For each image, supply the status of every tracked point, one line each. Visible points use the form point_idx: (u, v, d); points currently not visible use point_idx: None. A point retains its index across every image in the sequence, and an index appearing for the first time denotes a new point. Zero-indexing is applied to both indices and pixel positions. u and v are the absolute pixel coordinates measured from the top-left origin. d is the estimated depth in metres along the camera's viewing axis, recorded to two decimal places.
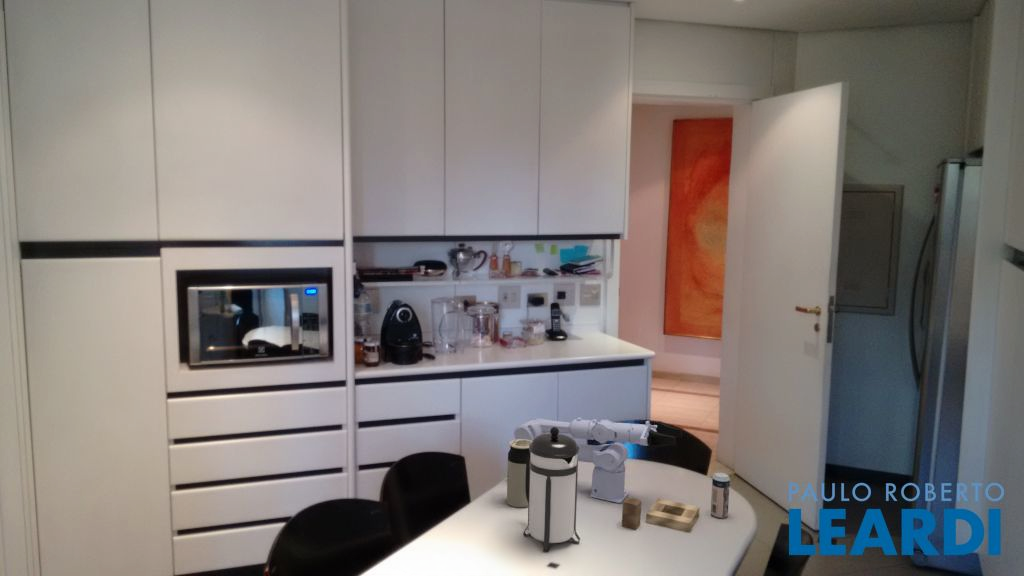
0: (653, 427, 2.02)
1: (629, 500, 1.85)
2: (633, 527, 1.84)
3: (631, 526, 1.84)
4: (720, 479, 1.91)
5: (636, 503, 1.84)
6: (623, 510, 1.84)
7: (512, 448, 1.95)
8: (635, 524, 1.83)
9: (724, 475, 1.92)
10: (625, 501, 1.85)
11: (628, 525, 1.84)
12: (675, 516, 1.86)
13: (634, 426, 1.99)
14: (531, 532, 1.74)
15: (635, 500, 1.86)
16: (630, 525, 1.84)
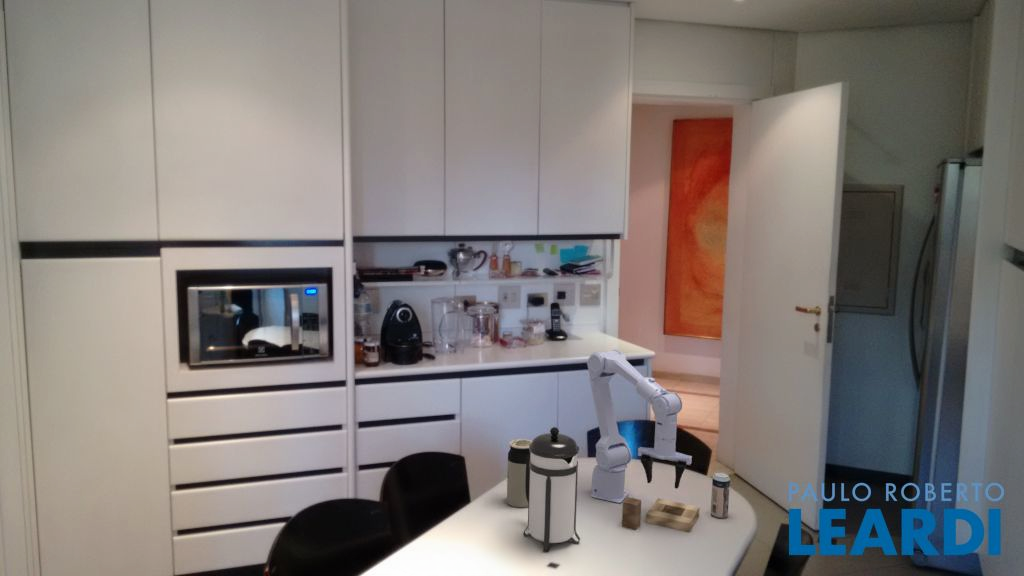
0: None
1: (629, 500, 1.85)
2: (633, 527, 1.84)
3: (631, 526, 1.84)
4: (720, 479, 1.91)
5: (636, 503, 1.84)
6: (623, 510, 1.84)
7: (512, 448, 1.95)
8: (635, 524, 1.83)
9: (724, 475, 1.92)
10: (625, 501, 1.85)
11: (628, 525, 1.84)
12: (675, 516, 1.86)
13: (657, 442, 1.86)
14: (531, 532, 1.74)
15: (635, 500, 1.86)
16: (630, 525, 1.84)
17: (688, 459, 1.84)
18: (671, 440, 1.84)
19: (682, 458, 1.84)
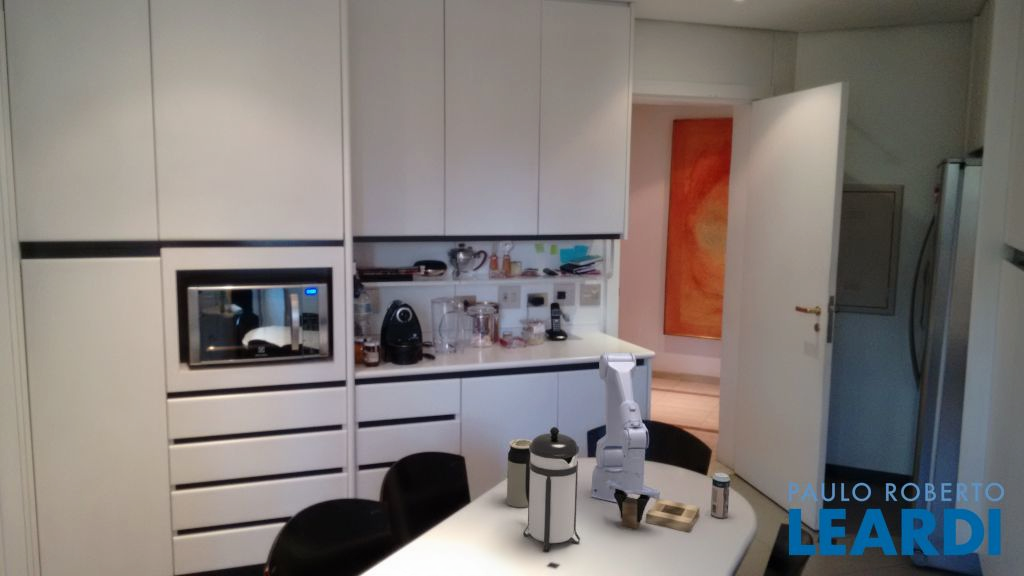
0: None
1: (629, 500, 1.85)
2: (633, 527, 1.84)
3: (631, 526, 1.84)
4: (720, 479, 1.91)
5: (636, 503, 1.84)
6: (623, 510, 1.84)
7: (512, 448, 1.95)
8: (635, 524, 1.83)
9: (724, 475, 1.92)
10: (625, 501, 1.85)
11: (628, 525, 1.84)
12: (675, 516, 1.86)
13: (625, 476, 1.83)
14: (531, 532, 1.74)
15: (635, 500, 1.86)
16: (630, 525, 1.84)
17: (656, 494, 1.81)
18: (639, 474, 1.82)
19: (650, 493, 1.81)
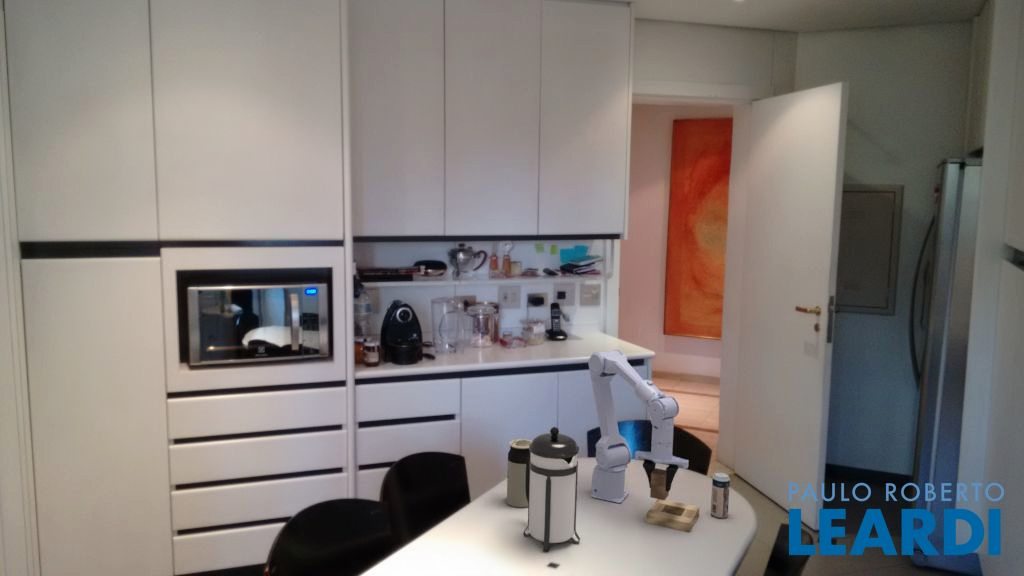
0: None
1: (657, 471, 1.87)
2: (661, 497, 1.86)
3: (659, 496, 1.86)
4: (720, 479, 1.91)
5: (664, 474, 1.86)
6: (651, 481, 1.87)
7: (512, 448, 1.95)
8: (664, 494, 1.85)
9: (724, 475, 1.92)
10: (653, 472, 1.87)
11: (656, 495, 1.86)
12: (675, 516, 1.86)
13: (654, 446, 1.85)
14: (531, 532, 1.74)
15: (663, 471, 1.88)
16: (658, 495, 1.86)
17: (685, 463, 1.83)
18: (668, 444, 1.84)
19: (679, 462, 1.83)
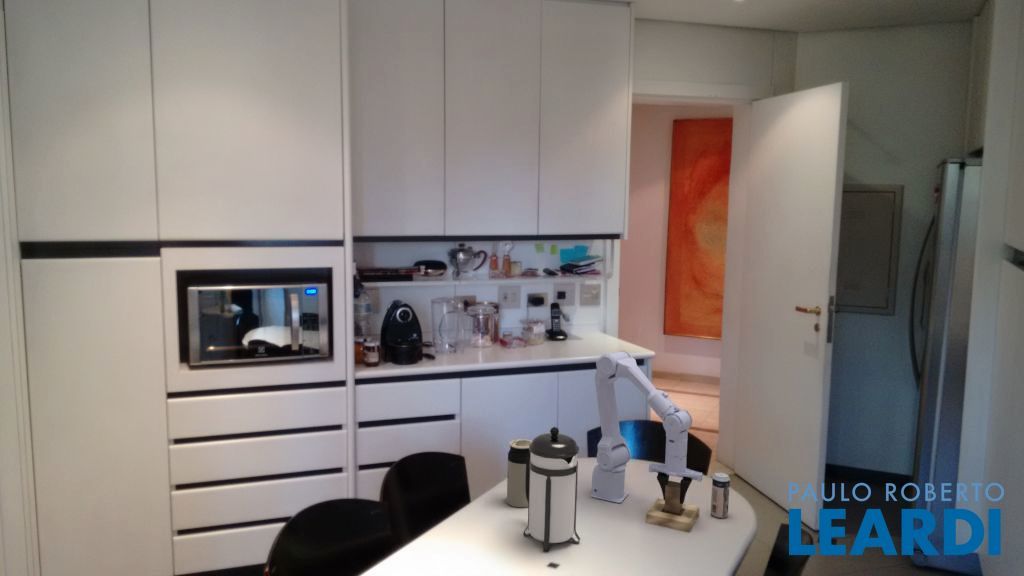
0: None
1: (671, 484, 1.89)
2: (676, 510, 1.88)
3: (674, 509, 1.88)
4: (720, 479, 1.91)
5: (679, 486, 1.88)
6: (666, 493, 1.89)
7: (512, 448, 1.95)
8: (678, 507, 1.87)
9: (724, 475, 1.92)
10: (668, 484, 1.89)
11: (671, 508, 1.88)
12: (675, 516, 1.86)
13: (668, 459, 1.87)
14: (531, 532, 1.74)
15: (677, 483, 1.90)
16: (673, 508, 1.88)
17: (699, 476, 1.85)
18: (682, 457, 1.86)
19: (693, 475, 1.86)
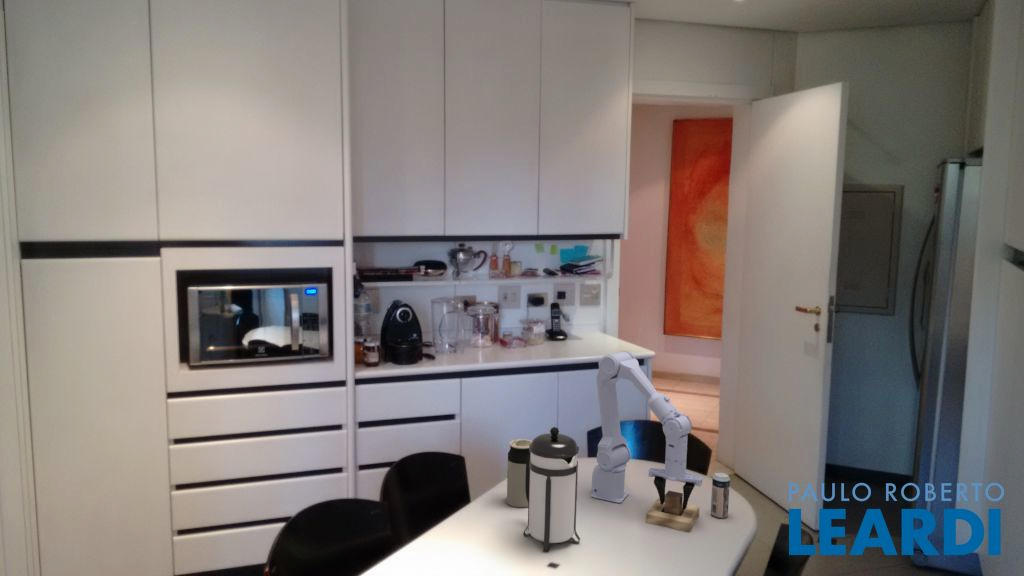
0: None
1: (671, 494, 1.90)
2: None
3: None
4: (720, 479, 1.91)
5: (678, 496, 1.88)
6: (665, 503, 1.89)
7: (512, 448, 1.95)
8: None
9: (724, 475, 1.92)
10: (667, 494, 1.89)
11: None
12: (675, 516, 1.86)
13: (668, 463, 1.87)
14: (531, 532, 1.74)
15: (677, 493, 1.90)
16: None
17: (698, 481, 1.85)
18: (681, 462, 1.86)
19: (692, 480, 1.86)
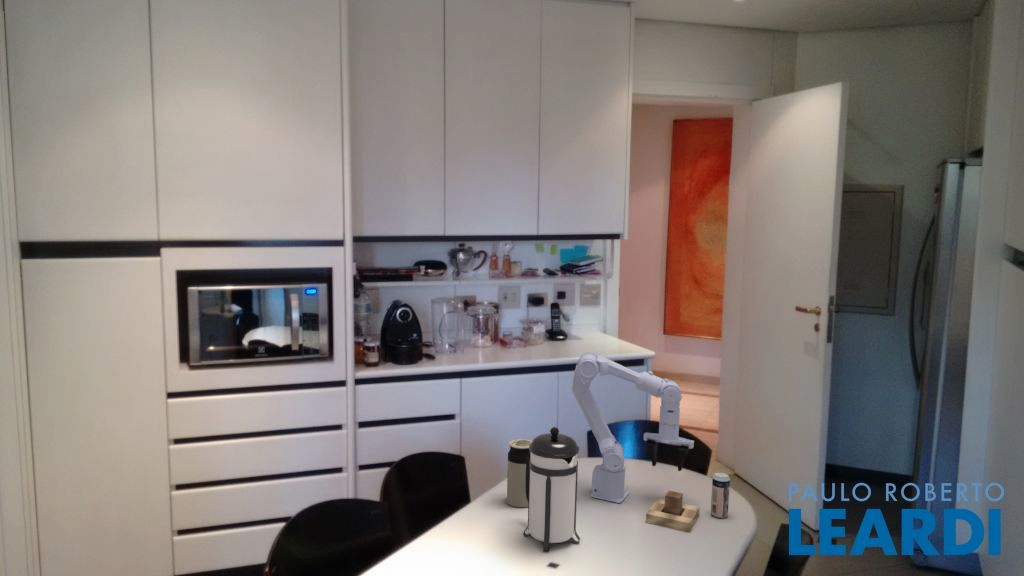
0: None
1: (671, 494, 1.90)
2: None
3: None
4: (720, 479, 1.91)
5: (678, 496, 1.88)
6: (665, 503, 1.89)
7: (512, 448, 1.95)
8: None
9: (724, 475, 1.92)
10: (667, 494, 1.89)
11: None
12: (675, 516, 1.86)
13: (662, 427, 1.99)
14: (531, 532, 1.74)
15: (677, 493, 1.90)
16: None
17: (690, 443, 1.97)
18: (674, 426, 1.98)
19: (685, 442, 1.97)
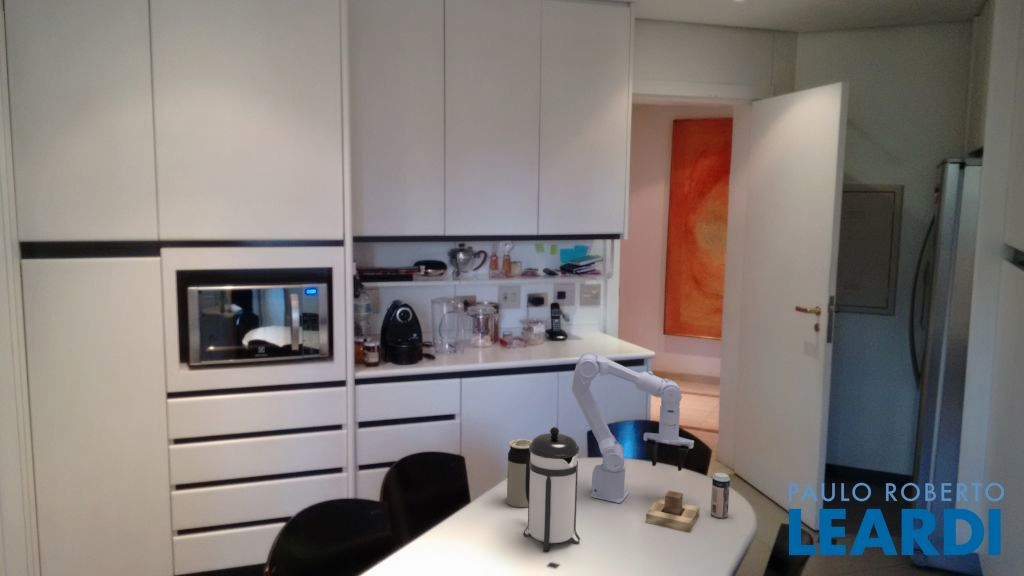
0: None
1: (671, 494, 1.90)
2: None
3: None
4: (720, 479, 1.91)
5: (678, 496, 1.88)
6: (665, 503, 1.89)
7: (512, 448, 1.95)
8: None
9: (724, 475, 1.92)
10: (667, 494, 1.89)
11: None
12: (675, 516, 1.86)
13: (662, 427, 1.99)
14: (531, 532, 1.74)
15: (677, 493, 1.90)
16: None
17: (690, 443, 1.97)
18: (674, 425, 1.98)
19: (685, 442, 1.97)
